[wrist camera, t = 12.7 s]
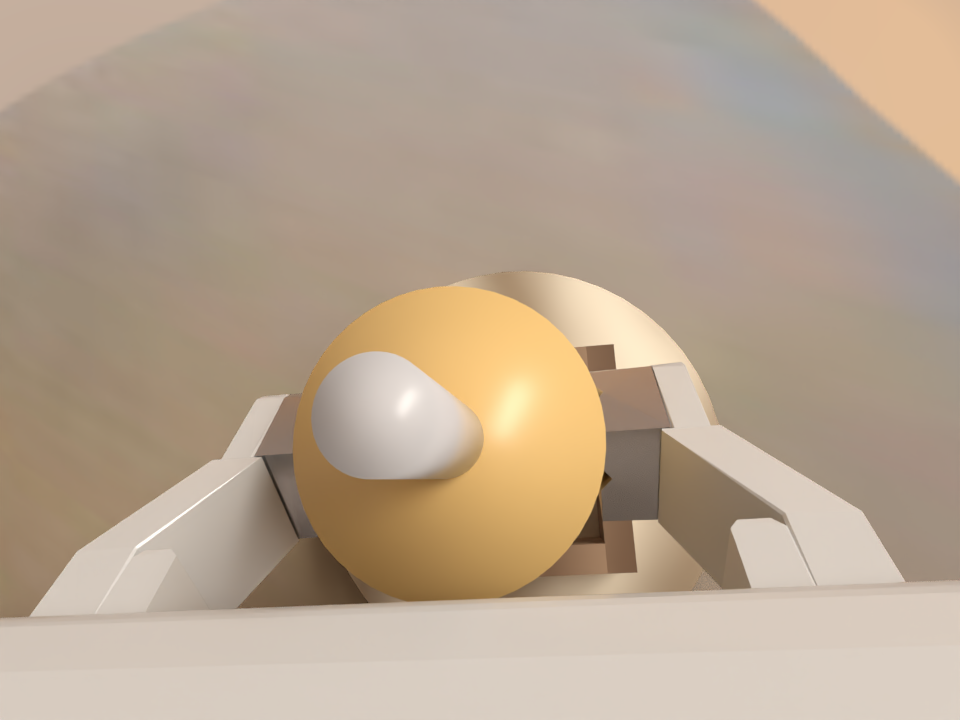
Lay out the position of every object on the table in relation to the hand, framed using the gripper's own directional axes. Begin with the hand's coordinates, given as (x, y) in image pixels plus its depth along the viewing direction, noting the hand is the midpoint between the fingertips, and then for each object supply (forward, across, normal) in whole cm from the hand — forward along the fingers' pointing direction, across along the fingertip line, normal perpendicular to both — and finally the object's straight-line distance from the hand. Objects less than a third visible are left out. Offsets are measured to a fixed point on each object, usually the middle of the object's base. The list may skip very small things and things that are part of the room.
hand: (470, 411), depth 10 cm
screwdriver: (+5, 0, +6) cm, 7 cm away
